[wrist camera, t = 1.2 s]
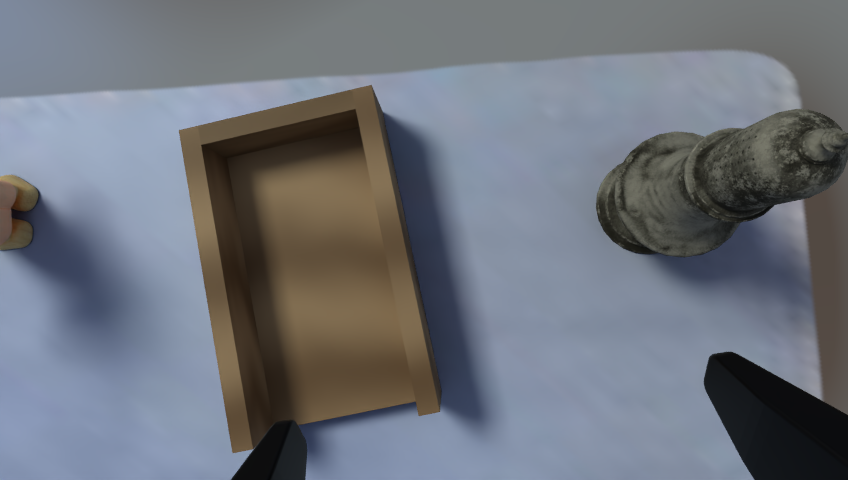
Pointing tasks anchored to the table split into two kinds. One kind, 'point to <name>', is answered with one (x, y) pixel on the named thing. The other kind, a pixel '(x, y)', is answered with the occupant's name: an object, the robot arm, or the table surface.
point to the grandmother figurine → (19, 196)
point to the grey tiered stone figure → (717, 181)
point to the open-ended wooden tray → (308, 265)
